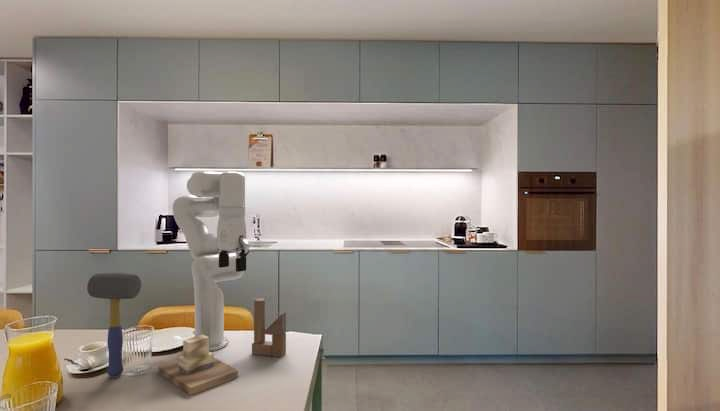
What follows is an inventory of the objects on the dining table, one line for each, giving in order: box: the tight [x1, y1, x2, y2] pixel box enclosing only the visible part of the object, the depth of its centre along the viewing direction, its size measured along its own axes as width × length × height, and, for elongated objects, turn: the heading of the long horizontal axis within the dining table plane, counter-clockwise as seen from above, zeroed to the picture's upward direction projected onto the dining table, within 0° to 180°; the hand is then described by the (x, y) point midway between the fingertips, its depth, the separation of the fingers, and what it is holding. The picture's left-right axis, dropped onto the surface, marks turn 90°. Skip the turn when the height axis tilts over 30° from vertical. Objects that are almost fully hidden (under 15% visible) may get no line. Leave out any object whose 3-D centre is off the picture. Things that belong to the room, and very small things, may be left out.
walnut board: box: [157, 356, 239, 396], centre depth 115 cm, size 20×14×2 cm
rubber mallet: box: [86, 272, 142, 378], centre depth 113 cm, size 12×8×30 cm, turn 84°
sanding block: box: [178, 335, 214, 375], centre depth 115 cm, size 8×5×9 cm, turn 139°
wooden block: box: [251, 297, 287, 358], centre depth 130 cm, size 4×11×18 cm, turn 78°
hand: (232, 268), depth 119 cm, fingers open, 9 cm apart
